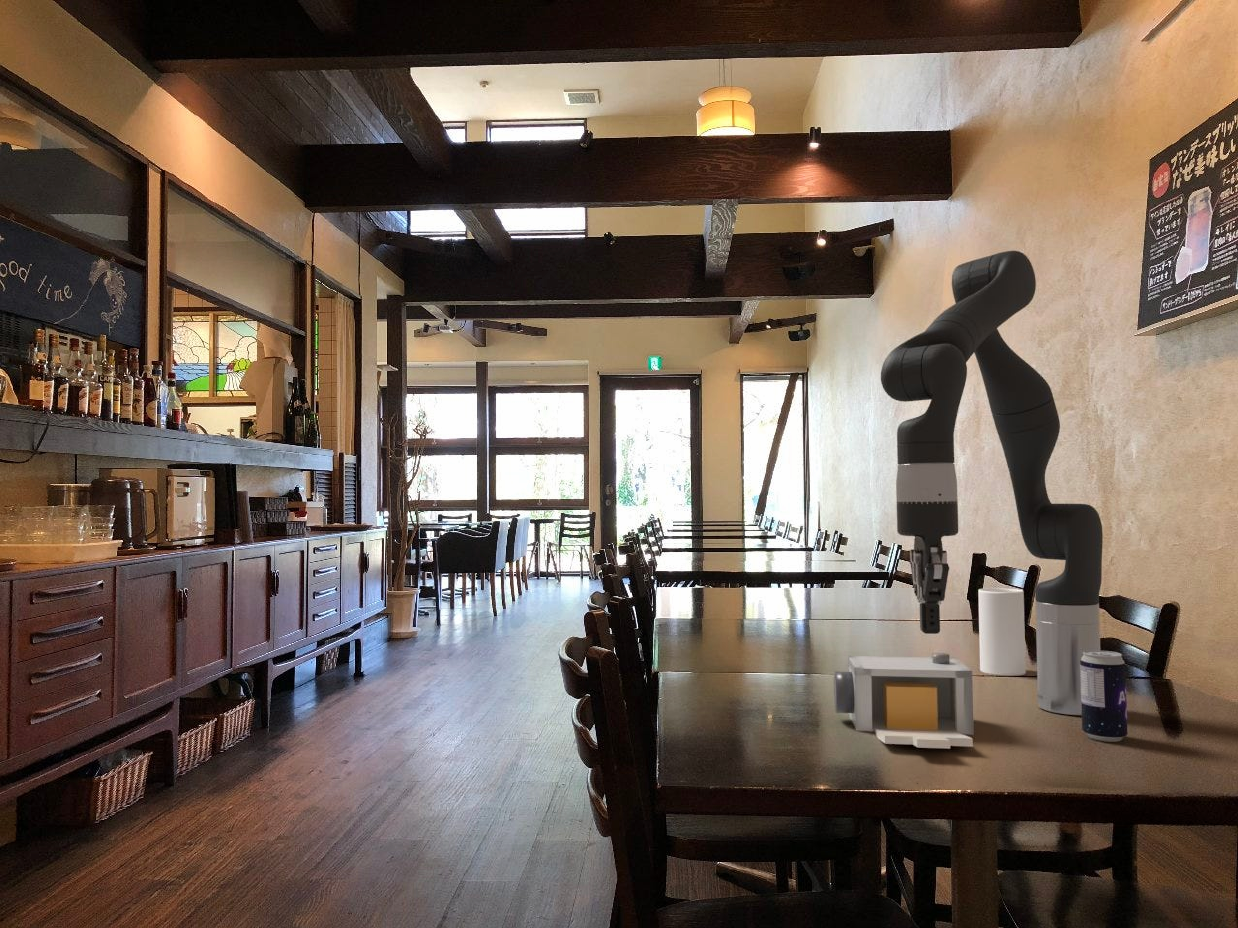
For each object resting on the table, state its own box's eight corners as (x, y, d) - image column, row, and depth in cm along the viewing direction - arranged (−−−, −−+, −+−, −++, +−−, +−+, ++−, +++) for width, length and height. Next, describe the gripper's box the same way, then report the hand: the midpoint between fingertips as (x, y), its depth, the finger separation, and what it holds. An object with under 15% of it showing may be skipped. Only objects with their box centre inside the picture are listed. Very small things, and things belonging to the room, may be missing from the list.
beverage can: (1126, 745, 121) (1124, 658, 122) (1080, 739, 124) (1078, 654, 125) (1128, 735, 126) (1125, 651, 126) (1084, 730, 129) (1081, 648, 129)
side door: (955, 730, 123) (978, 740, 110) (956, 739, 123) (979, 750, 110) (874, 727, 125) (888, 737, 112) (875, 736, 125) (888, 747, 112)
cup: (1028, 670, 174) (1026, 589, 175) (1022, 677, 167) (1020, 593, 168) (984, 666, 178) (982, 587, 179) (976, 673, 171) (974, 590, 172)
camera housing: (957, 724, 133) (955, 650, 133) (973, 742, 123) (972, 662, 123) (833, 720, 136) (831, 647, 136) (839, 738, 126) (838, 659, 126)
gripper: (969, 498, 107) (973, 641, 106) (945, 498, 120) (948, 625, 119) (905, 499, 108) (909, 640, 107) (888, 498, 121) (891, 624, 121)
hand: (930, 632), depth 113 cm, fingers closed
